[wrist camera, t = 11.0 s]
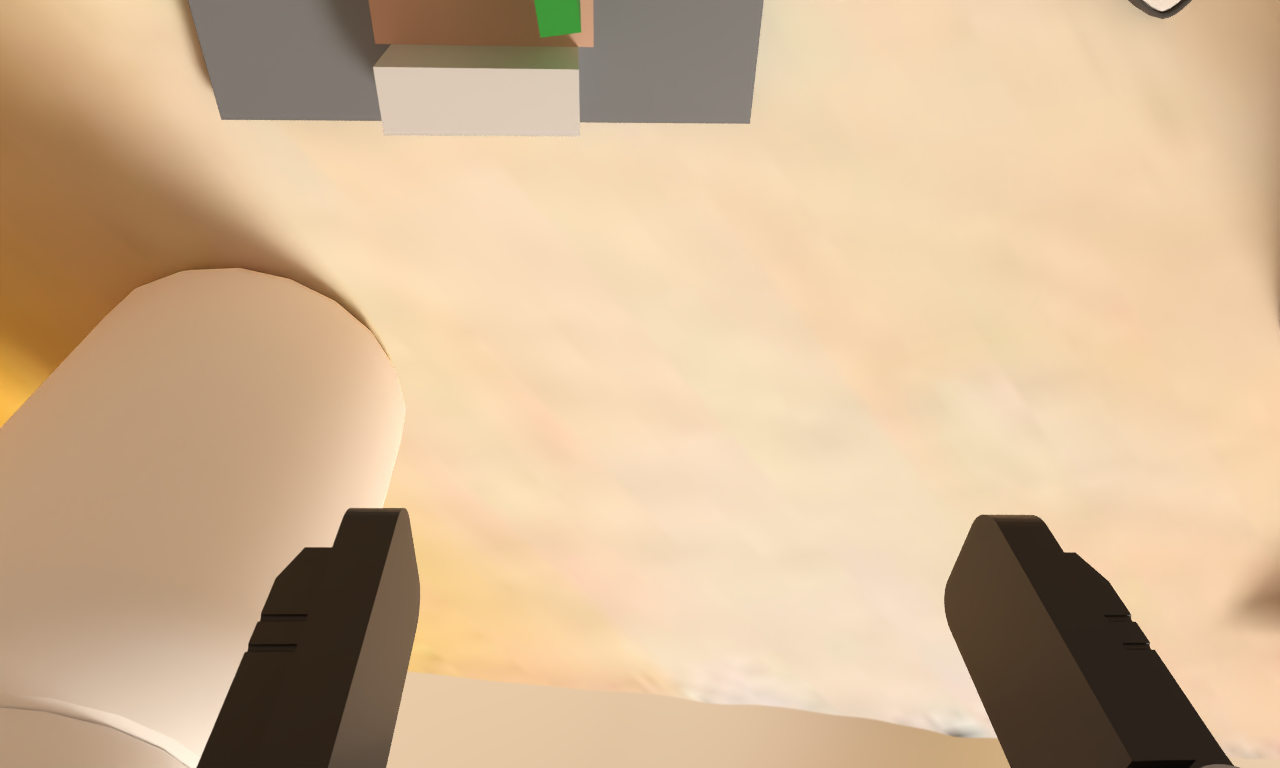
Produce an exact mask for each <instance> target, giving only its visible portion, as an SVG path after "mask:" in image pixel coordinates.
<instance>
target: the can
mask: <svg viewBox="0 0 1280 768" xmlns="http://www.w3.org/2000/svg"><path fill="white" fill-rule="evenodd" d="M405 413H406V408H405V403H404V399H403V395H402V391H401V387H400V383H399V379H398V374H397V372H396V370H395V367H394V365H393V364H392V362H391V361H390V359H389V358H388V356H387V355H386V353H385V352H384V350H383V349H382V347H381V346H380V344H379V343H378V341H377V340H376V338H375V336H374V335H373V333H372V332H371V331H370V330H369V329H368V328H366V327H365V326H364V325H363V324H362V323H361V322H359V321H358V320H357V319H356V318H355V317H354V316H352V315H351V314H350V313H349V312H348V311H346V310H345V309H344V308H343V307H342V306H341V305H339V304H338V303H337V302H336V301H334V300H332V299H330V298H328V297H326V296H324V295H322V294H320V293H318V292H316V291H314V290H312V289H310V288H308V287H306V286H304V285H301V284H299V283H297V282H295V281H293V280H291V279H288V278H284V277H279V276H275V275H270V274H265V273H261V272H256V271H252V270H247V269H243V268H223V269H201V270H187V271H181V272H178V273H175V274H172V275H169V276H167V277H164V278H161V279H159V280H156V281H153V282H151V283H148V284H145V285H142V286H140V287H137V288H135V289H134V290H133V291H132V292H131V293H130V294H129V295H128V296H127V297H125V298H124V299H123V300H122V301H121V302H120V303H119V304H118V305H117V306H116V307H115V308H114V309H113V310H111V311H110V312H109V313H108V314H107V315H106V316H105V317H104V318H103V319H102V320H101V321H100V322H99V323H98V325H97V326H96V327H95V328H94V329H93V330H92V331H91V332H90V333H89V334H88V335H87V336H86V337H85V338H84V339H83V341H82V342H81V343H80V344H79V345H78V346H77V347H76V348H75V349H74V350H73V351H72V352H71V353H70V354H69V355H68V357H67V358H66V359H65V360H64V361H63V362H62V363H61V364H60V365H59V366H58V367H57V368H56V369H55V370H54V371H53V373H52V374H51V375H50V376H49V377H48V378H47V379H46V380H45V381H44V382H43V383H42V384H41V385H40V386H39V387H38V389H37V390H36V391H35V392H34V393H33V394H32V395H31V396H30V397H29V398H28V399H27V400H26V401H25V402H24V404H23V405H22V406H21V407H20V408H19V409H18V410H17V411H16V412H15V413H14V414H13V415H12V416H11V417H10V418H9V420H8V421H7V422H6V423H5V424H4V425H3V426H2V427H1V428H0V768H196V767H197V765H198V763H199V760H200V758H201V755H202V753H203V751H204V748H205V746H206V743H207V741H208V739H209V736H210V734H211V732H212V729H213V727H214V724H215V722H216V720H217V717H218V715H219V712H220V710H221V708H222V705H223V703H224V700H225V698H226V696H227V693H228V691H229V689H230V686H231V684H232V681H233V679H234V677H235V674H236V672H237V669H238V667H239V665H240V662H241V660H242V657H243V655H244V653H245V652H247V651H248V643H249V641H250V638H251V636H252V634H253V631H254V629H255V626H256V624H257V622H260V619H261V612H262V610H263V607H264V605H265V603H266V600H267V598H268V595H269V593H270V591H271V588H272V586H273V583H274V581H275V579H276V577H277V576H278V575H279V574H280V573H281V572H282V571H283V570H284V569H285V568H286V567H287V566H288V565H289V564H290V563H291V561H292V560H293V559H294V558H295V557H296V556H297V555H298V554H299V553H300V552H301V551H302V550H303V549H304V548H305V547H332V546H333V544H334V541H335V538H336V535H337V532H338V530H339V527H340V524H341V521H342V519H343V516H344V514H345V512H346V511H347V510H348V509H349V508H383V505H384V501H385V497H386V494H387V490H388V486H389V483H390V479H391V475H392V472H393V468H394V465H395V461H396V457H397V454H398V450H399V446H400V442H401V437H402V431H403V425H404V419H405Z"/></svg>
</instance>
